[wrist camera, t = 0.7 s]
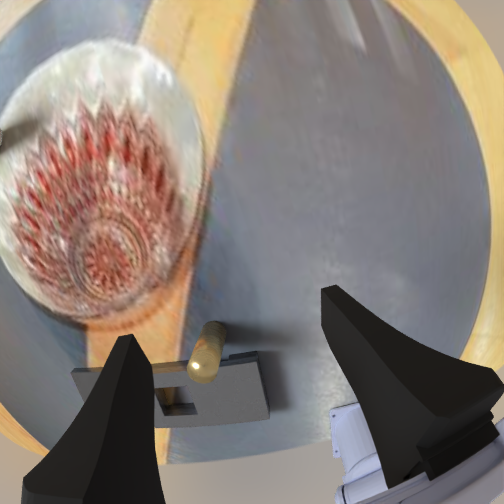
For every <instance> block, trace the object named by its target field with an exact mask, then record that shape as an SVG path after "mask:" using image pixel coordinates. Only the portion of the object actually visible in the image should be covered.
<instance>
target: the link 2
mask: <svg viewBox="0 0 504 504" xmlns="http://www.w3.org/2000/svg"><path fill="white" fill-rule="evenodd" d="M153 378H154V389H155V412H154V426H155V428H178V427H198V426H213V425H224V424H235V423H244V422H252V421H260V420H267V419H270V410H269V403H268V398H267V394H266V390H265V385H264V381H263V377H262V372H261V368H260V363H259V359H258V354H257V351H253V352H246V353H240V354H233V355H229V360H228V361H220V364H219V368H218V372H217V376H216V378H215V379H214V380H213V381H212V382H210V383H205V384H203V383H198V382H196V381H194V380H192V379H191V378H190V377H189V375H188V373H187V366H177V367H167V368H156V369H153ZM178 386H188V388H189V391H190V394H191V397H192V399H193V402H194V405H195V408H196V409H184V410H167V409H166V407H165V405H164V402H163V400H162V397H161V395H160V392H159V390H158V388H165V387H178Z"/></svg>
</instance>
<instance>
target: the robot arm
mask: <svg viewBox="0 0 504 504" xmlns="http://www.w3.org/2000/svg"><path fill="white" fill-rule="evenodd" d="M321 326H322V329H323V331H324V334H325V337H326V339H327V342H328V344H329V347H330V349H331V351H332V353H333V354H334V356H335V358H336V360H337V362H338V364H339V365H340V367H341V369H342V371H343V373H344V375H345V376H346V378H347V380H348V382H349V384H350V386H351V387H352V389H353V391H354V393H355V395H356V397H357V399H358V402H359V403H355V404H351V405H347V406H343V407H338V408H334V409H331V410H330V412H329V413H330V424H331V435H332V447H333V457H334V458H339V457H341V458H342V462H343V466H344V469H345V473H346V475H345V476H343V477H342V478H343V482H344V485H341V486H339V487H338V488H337V492H336V494H335V502H336V504H490V503H491V502H492V501H494V500H495V499H496V498H497V497H498V496H500V495H501V494H502V493H503V492H504V418H502V419H501V420H500V421H499V422H498V423H496V424H495V425H494V424H493V422H492V421H491V420H492V419H493V418H494V416H493V414H492V412H491V411H490V410H491V408H492V407H493V406H494V405H495V404H496V402H497V401H498V400H499V398H500V397H501V396H502V394H503V393H504V384H503V382H502V381H501V380H500V378H499V377H498V375H497V374H496V373H495V372H494V370H493V369H492V368H488V367H484V366H480V365H476V364H472V363H468V362H465V361H462V360H459V359H456V358H453V357H451V356H448V355H445V354H443V353H441V352H438V351H436V350H434V349H432V348H429V347H427V346H425V345H423V344H421V343H419V342H417V341H415V340H413V339H412V338H410V337H408V336H406V335H405V334H403V333H401V332H400V331H398V330H396V329H395V328H393V327H392V326H390V325H389V324H387V323H386V322H384V321H383V320H381V319H380V318H379V317H377V316H376V315H375V314H373V313H372V312H371V311H369V310H368V309H366V308H365V307H364V306H363V305H361V304H360V303H359V302H357V301H356V300H355V299H354V298H352V297H351V296H350V295H349V294H348V293H346V292H345V291H344V290H343V289H341V288H340V287H339V286H337V285H333V286H329V287H326V288H322V289H321ZM154 412H155V389H154V378H153V369H152V365H151V364H150V362H149V360H148V359H147V357H146V355H145V354H144V352H143V350H142V349H141V347H140V345H139V344H138V342H137V340H136V338H135V337H134V335H133V334H129V335H124V336H119V337H118V338H117V340H116V342H115V344H114V346H113V348H112V350H111V352H110V354H109V357H108V359H107V361H106V363H105V365H104V367H103V369H102V371H101V373H100V375H99V377H98V379H97V381H96V383H95V385H94V387H93V389H92V390H91V392H90V394H89V396H88V398H87V400H86V401H85V403H84V405H83V407H82V408H81V410H80V412H79V413H78V415H77V416H76V418H75V419H74V421H73V422H72V424H71V425H70V427H69V428H68V429H67V431H66V432H65V433H64V435H63V436H62V437H61V439H60V440H59V441H58V443H57V444H56V445H55V446H54V447H53V448H52V450H51V451H50V452H49V453H48V454H47V455H46V456H45V457H44V458H43V460H42V461H41V462H40V463H39V464H38V465H36V466H35V467H34V468H33V469H32V470H31V471H30V472H29V473H28V474H27V475H26V476H25V477H24V478H23V486H22V498H21V504H166V503H165V499H164V495H163V491H162V487H161V481H160V476H159V471H158V465H157V458H156V451H155V433H154ZM333 415H334V416H333Z"/></svg>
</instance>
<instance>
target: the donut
mask: <svg viewBox="0 0 504 504" xmlns="http://www.w3.org/2000/svg"><path fill="white" fill-rule="evenodd" d="M1 143H2V130H1V129H0V146H1Z"/></svg>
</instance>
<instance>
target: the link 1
mask: <svg viewBox="0 0 504 504" xmlns="http://www.w3.org/2000/svg"><path fill="white" fill-rule="evenodd" d="M188 363H189V360H186V361H177V362H167V363H157V364H151V365H152V369H156V368H167V367H177V366H187V365H188ZM102 369H103V367H98V368H74V370H73V371H72V372H71V375H72V377H73V380H74V382H75V384H76V386H77V388H78V390H79V392H80V394H81V396H82V399H83V401H84V403H85V401H86V400H87V398H88V396H89V394H90V392H91V390H92V389H93V387H94V385H95V383H96V381H97V379H98V377H99V375H100V373H101V371H102ZM158 390H159V392H160V395H161V397H162V400H163V402H164V405H165V407H166V409H167V410H184V409H196V408H195V405H194V403H189V404H173V405H169V403H168V401H167V398H166V396H165V393H164V390H163V388H158Z"/></svg>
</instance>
